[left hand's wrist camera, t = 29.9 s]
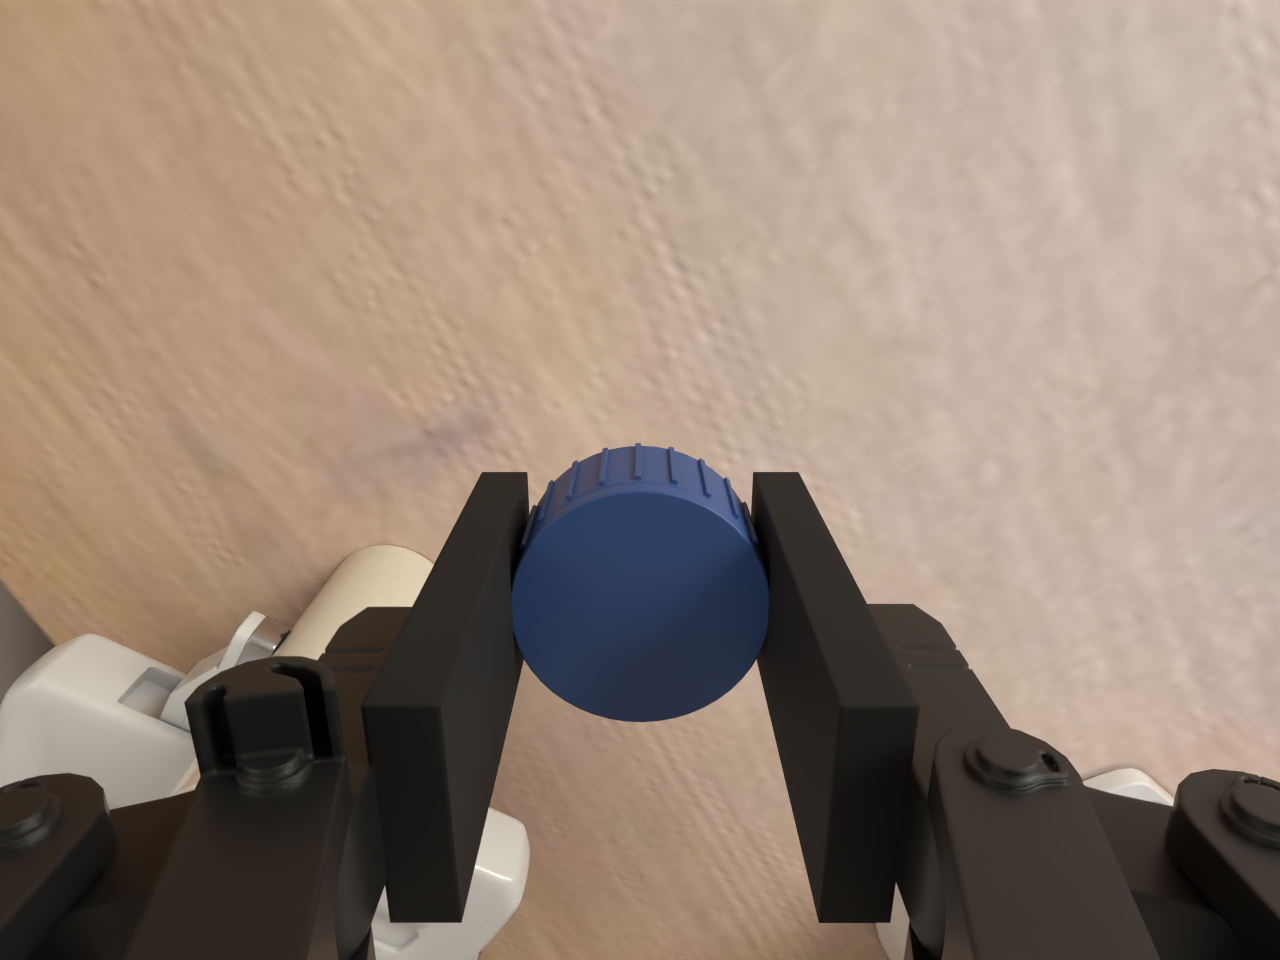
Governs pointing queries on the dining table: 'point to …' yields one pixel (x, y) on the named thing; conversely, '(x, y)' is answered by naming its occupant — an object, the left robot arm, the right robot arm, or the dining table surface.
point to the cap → (640, 586)
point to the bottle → (345, 608)
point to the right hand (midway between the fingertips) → (351, 666)
